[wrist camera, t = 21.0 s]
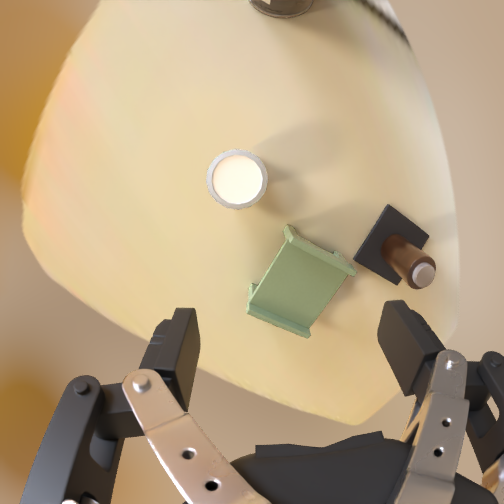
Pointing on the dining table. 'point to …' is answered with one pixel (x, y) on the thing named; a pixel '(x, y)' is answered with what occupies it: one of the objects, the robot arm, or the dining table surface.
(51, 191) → the dining table surface
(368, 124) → the dining table surface
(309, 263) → the tray
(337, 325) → the dining table surface
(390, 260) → the brown bottle
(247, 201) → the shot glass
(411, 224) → the mat
